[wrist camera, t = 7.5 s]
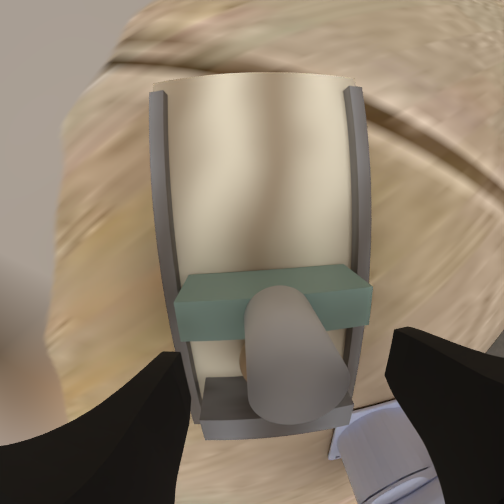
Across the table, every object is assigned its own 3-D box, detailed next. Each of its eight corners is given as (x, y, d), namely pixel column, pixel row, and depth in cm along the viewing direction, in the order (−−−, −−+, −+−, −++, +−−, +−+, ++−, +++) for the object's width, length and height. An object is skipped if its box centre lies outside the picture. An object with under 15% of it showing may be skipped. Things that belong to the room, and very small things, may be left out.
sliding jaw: (343, 255, 16) (438, 323, 7) (341, 302, 16) (417, 394, 8) (187, 266, 15) (133, 356, 7) (194, 314, 16) (159, 427, 7)
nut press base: (346, 85, 15) (385, 51, 9) (339, 397, 20) (361, 444, 15) (159, 91, 14) (128, 54, 9) (198, 410, 20) (191, 462, 14)
